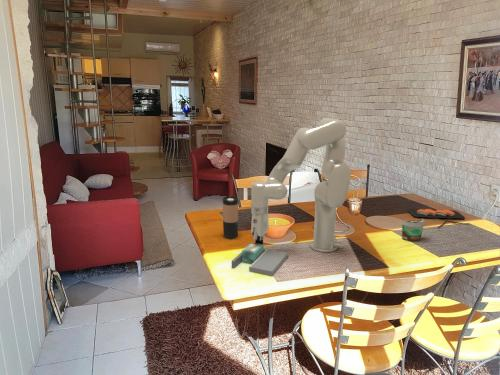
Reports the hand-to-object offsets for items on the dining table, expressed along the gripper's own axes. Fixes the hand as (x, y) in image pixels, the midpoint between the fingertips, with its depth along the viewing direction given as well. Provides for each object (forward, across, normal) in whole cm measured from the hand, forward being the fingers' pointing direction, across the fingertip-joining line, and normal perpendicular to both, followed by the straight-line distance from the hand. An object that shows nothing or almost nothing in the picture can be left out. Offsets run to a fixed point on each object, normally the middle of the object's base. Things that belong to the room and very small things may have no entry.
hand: (259, 247), depth 173 cm
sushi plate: (+3, +86, -77) cm, 115 cm away
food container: (+2, +46, -64) cm, 79 cm away
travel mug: (+2, +12, +21) cm, 24 cm away
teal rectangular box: (+2, -7, 0) cm, 8 cm away
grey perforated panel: (+2, -9, -5) cm, 10 cm away
